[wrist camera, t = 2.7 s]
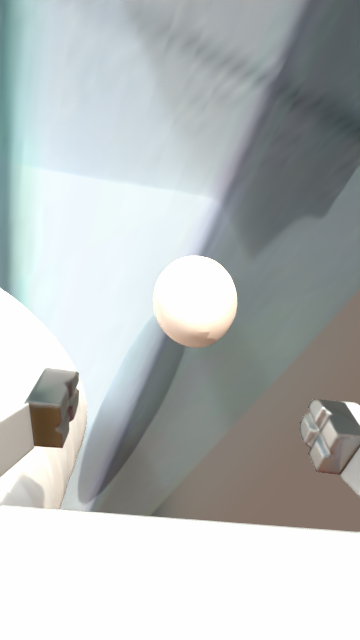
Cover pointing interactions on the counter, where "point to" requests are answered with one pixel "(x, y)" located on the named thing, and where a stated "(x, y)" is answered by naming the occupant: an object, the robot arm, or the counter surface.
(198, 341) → the egg
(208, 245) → the counter surface
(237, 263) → the counter surface
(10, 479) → the plate stack
